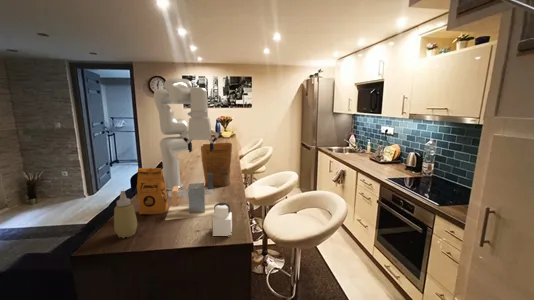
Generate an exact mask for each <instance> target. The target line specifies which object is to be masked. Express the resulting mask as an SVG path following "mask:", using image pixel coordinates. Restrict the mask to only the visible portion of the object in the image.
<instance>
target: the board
mask: <svg viewBox="0 0 534 300" xmlns="http://www.w3.org/2000/svg"><path fill="white" fill-rule="evenodd" d="M218 203H220V202H219V201H213V202H211V201H210V202H209V201H208V202H205V212H204V213H194V214H189V203H188V204H178V207H173V205H170V206H168V207H169V208H168V209H167V213H166V215H165V216H166V217H165V219H164V220H165V221H169V220H179V219H181V220H182V219H190V218H200V217H211V216H214V206H215V205H216V204H218Z"/></svg>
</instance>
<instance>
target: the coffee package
mask: <svg viewBox="0 0 534 300" xmlns="http://www.w3.org/2000/svg"><path fill="white" fill-rule="evenodd" d="M136 183H137V184H136V192H137V199H138V200H137V202H138V209H139V210H138V214H139V215H151V216H152V215H157V214H159V215H160V214H164V213H165V212H166V211H168V210H169V208H168V207H169V205H168V202H169V201H168V200H169V199H168V192H167V190H166V185H165V181H164V175H163V168H162V167H160V168H159V167H155V168H154V167H138V168H137V180H136Z"/></svg>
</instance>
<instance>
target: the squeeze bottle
mask: <svg viewBox="0 0 534 300" xmlns="http://www.w3.org/2000/svg"><path fill="white" fill-rule="evenodd" d="M113 210H114V212H113V230H114V232H115V234H116V235H117V237H118V238H120V237H122V238H121V239H126V238H125V237H127V238H131V237H132V236H134V235H135V234H136V231H137V227H138V219H137V215H136V210H135V205H134V204H133V203H132V201H131V198H128V197H127V195H126V191H125V190H121V191H120V196H119V199H118V200H116V206H115V207H114V209H113Z"/></svg>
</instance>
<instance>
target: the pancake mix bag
mask: <svg viewBox="0 0 534 300" xmlns="http://www.w3.org/2000/svg"><path fill="white" fill-rule="evenodd" d="M232 150H233V143H231V142H218V143H217V142H216V143H215V142H214V150H213V151H212V152H210V143H204V144H202V145H200V155H201V163H202V170H203V171H202V172H203V176H204V180H205V182H204V187H206V188H208V176H207V173H213V188H215V187H217V188H218V187H228V186H231V178H230V175H231V163H232V152H233V151H232Z"/></svg>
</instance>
